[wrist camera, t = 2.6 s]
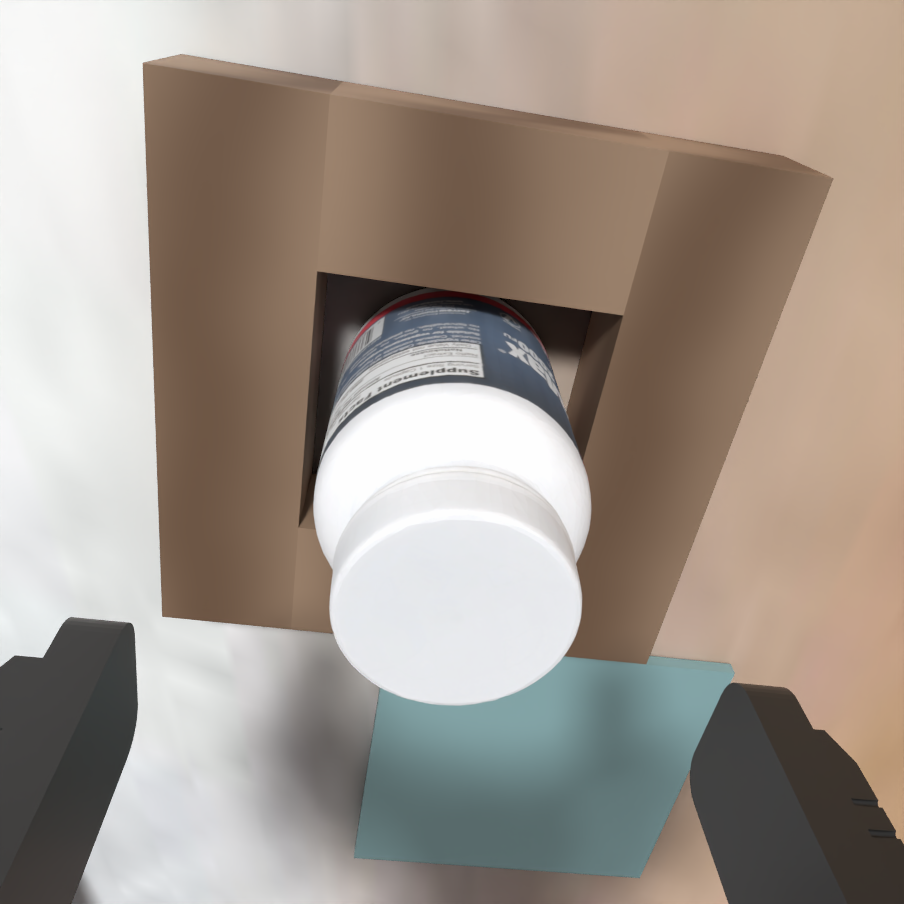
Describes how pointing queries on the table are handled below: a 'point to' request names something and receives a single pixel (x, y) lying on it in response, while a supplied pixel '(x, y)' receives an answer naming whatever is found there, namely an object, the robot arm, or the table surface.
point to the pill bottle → (451, 502)
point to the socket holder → (450, 268)
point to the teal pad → (539, 769)
